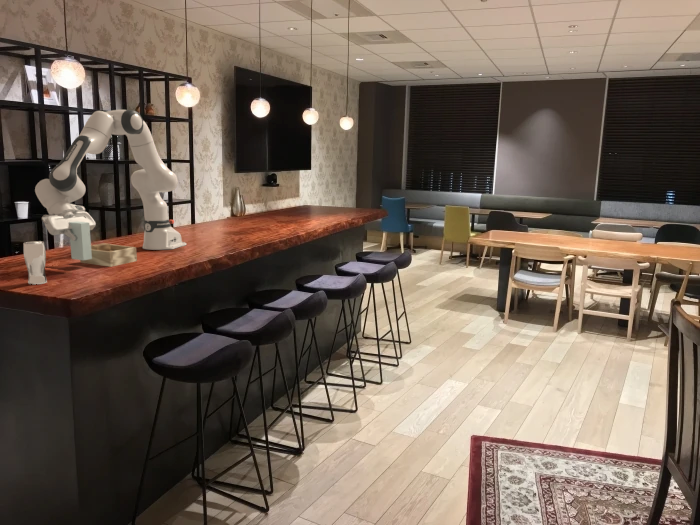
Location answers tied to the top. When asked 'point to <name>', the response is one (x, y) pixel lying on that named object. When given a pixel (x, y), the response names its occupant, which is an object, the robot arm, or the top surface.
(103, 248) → the offcut short
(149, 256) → the top surface
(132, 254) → the tray
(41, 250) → the beer glass
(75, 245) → the pale green block
